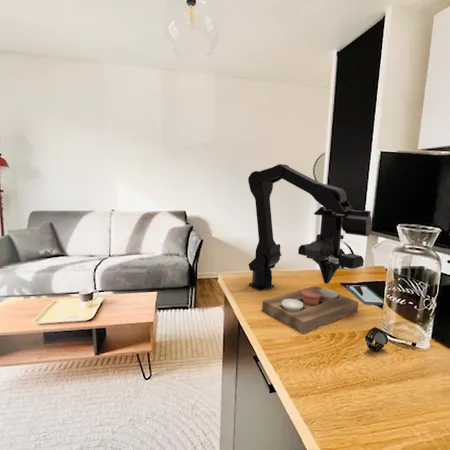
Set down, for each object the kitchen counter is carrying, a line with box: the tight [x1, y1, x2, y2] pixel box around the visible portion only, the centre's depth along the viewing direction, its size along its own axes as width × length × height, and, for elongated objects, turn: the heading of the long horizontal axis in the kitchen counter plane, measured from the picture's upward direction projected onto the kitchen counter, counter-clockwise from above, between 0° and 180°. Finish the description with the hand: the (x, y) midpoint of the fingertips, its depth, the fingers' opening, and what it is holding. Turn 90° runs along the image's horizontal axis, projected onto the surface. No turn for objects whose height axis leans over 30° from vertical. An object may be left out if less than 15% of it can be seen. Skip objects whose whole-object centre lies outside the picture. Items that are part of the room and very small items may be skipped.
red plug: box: [300, 287, 322, 306], centre depth 84 cm, size 6×6×4 cm
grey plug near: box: [282, 299, 303, 313], centre depth 80 cm, size 6×6×4 cm
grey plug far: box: [319, 288, 339, 301], centre depth 89 cm, size 6×6×4 cm
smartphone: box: [345, 284, 384, 306], centre depth 98 cm, size 7×1×15 cm
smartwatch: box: [364, 326, 389, 353], centre depth 66 cm, size 4×5×5 cm
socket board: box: [261, 285, 359, 335], centre depth 85 cm, size 15×23×3 cm, turn 124°
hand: (326, 283), depth 89 cm, fingers closed
